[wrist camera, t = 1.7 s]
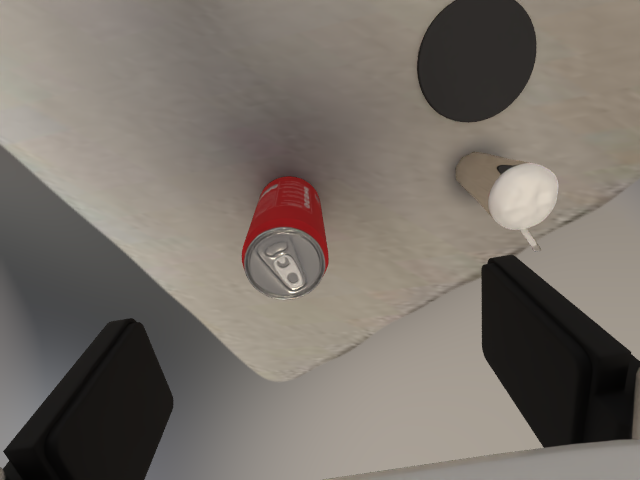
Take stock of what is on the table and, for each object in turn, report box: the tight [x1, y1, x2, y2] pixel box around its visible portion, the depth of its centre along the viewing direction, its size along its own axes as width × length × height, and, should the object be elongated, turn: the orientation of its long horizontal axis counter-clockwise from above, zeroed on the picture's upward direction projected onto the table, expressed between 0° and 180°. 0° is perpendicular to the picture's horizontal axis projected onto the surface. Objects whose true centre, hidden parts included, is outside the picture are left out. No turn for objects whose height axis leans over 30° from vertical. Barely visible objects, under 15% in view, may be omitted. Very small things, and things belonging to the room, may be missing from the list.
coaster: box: [417, 0, 536, 122], centre depth 29 cm, size 9×9×1 cm
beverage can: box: [242, 176, 328, 300], centre depth 28 cm, size 5×5×12 cm
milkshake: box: [455, 152, 558, 252], centre depth 28 cm, size 4×5×10 cm
